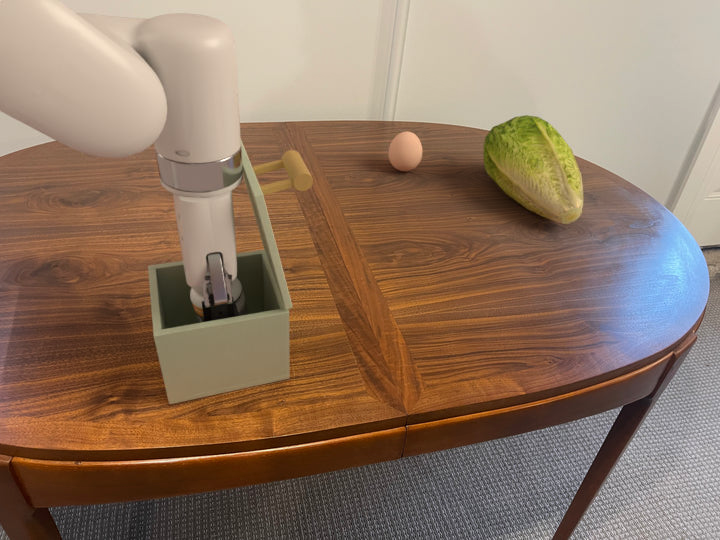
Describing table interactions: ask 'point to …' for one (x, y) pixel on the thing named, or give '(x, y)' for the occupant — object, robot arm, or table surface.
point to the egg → (405, 151)
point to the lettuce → (535, 168)
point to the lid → (297, 179)
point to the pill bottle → (198, 297)
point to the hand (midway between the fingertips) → (216, 306)
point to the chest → (219, 333)
